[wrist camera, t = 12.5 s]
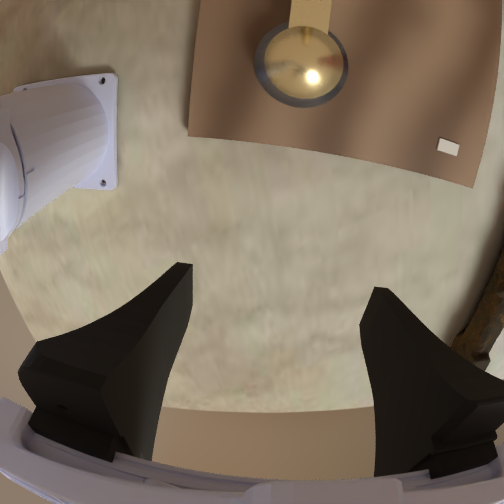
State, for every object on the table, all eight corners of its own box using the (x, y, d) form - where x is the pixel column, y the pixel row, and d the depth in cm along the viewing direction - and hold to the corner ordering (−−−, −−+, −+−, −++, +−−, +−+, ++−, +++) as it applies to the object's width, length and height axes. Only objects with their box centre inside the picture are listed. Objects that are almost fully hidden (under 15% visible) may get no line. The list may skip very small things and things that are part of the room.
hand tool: (504, 203, 19) (538, 230, 15) (532, 212, 19) (564, 238, 15) (423, 369, 28) (435, 403, 25) (451, 367, 28) (464, 400, 24)
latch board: (190, 134, 18) (187, 136, 18) (221, -98, 10) (219, -104, 9) (467, 184, 18) (473, 188, 18) (494, -24, 10) (501, -26, 9)
